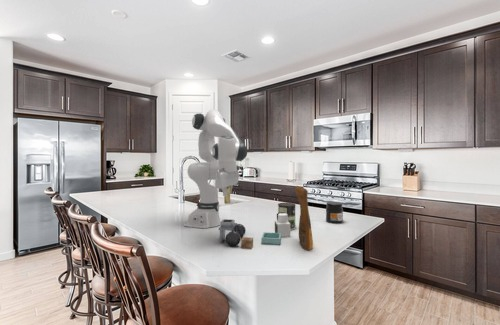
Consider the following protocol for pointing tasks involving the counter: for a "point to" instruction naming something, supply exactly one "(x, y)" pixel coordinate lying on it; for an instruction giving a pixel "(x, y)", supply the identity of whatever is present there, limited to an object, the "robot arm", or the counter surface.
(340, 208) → the supplement container
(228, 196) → the pin
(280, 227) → the medicine bottle
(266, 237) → the tray
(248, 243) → the chock
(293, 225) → the coffee can
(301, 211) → the brown wooden upright piece
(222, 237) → the trolley
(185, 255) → the counter surface
